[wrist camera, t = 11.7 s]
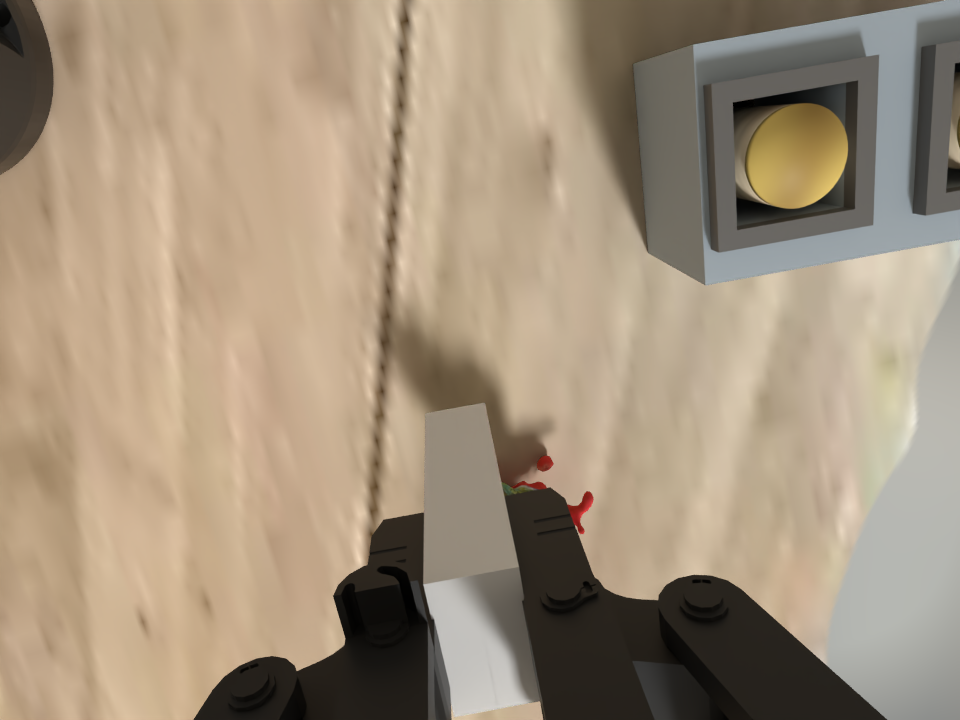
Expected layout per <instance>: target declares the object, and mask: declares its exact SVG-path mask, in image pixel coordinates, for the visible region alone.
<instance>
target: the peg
mask: <svg viewBox="0 0 960 720" xmlns="http://www.w3.org/2000/svg"><path fill="white" fill-rule="evenodd" d="M733 125H734V154H735V184H736V198H740V199H744V200H749V201H754V202H758V203H763V204H767V205H772V206H776V207H781V208H787V209H794V208H801V207H805V206H807V205H810V204H812V203H814V202H816V201H818V200H819V199H821V198H822V197H824V196H825V195H826V194H827V193H828V192H829V191H830V190H831V189H832V188H833V187H834V185H835V184H836V183H837V181H838V180H839V178H840V176H841V174H842V172H843V170H844V167H845V164H846V160H847V155H848V140H847V135H846V132H845V129H844V127H843V124H842V123H841V121H840V120H839V118H838V117H837V116H836V115H835V114H834V113H833V112H832V111H830V110H829V109H827V108H825V107H823V106H821V105H818V104H812V103H800V104H785V105H771V106H757V107H743V108H733Z"/></svg>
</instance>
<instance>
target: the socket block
mask: <svg viewBox="0 0 960 720" xmlns="http://www.w3.org/2000/svg"><path fill="white" fill-rule="evenodd" d="M633 70H634V83H635V95H636V108H637V120H638V133H639V145H640V158H641V170H642V183H643V195H644V208H645V221H646V233H647V246H648V253H649V254H651V255H652V256H654V257H656V258H658V259H660V260H661V261H663V262H665V263H667V264H668V265H670V266H672V267H674V268H676V269H677V270H679V271H681V272H683V273H684V274H686V275H688V276H690V277H692V278H693V279H695V280H697V281H699V282H700V283H702V284H704V285H710V284H716V283H721V282H727V281H733V280H738V279H744V278H749V277H755V276H760V275H766V274H771V273H777V272H783V271H788V270H794V269H799V268H805V267H810V266H816V265H822V264H827V263H833V262H838V261H844V260H849V259H855V258H860V257H866V256H872V255H877V254H883V253H888V252H894V251H899V250H905V249H911V248H916V247H922V246H927V245H933V244H938V243H944V242H949V241H955V240H960V169H952V168H948V156H949V142H950V128H951V113H952V99H953V85H954V73H957V72H960V0H945V1H939V2H934V3H928V4H922V5H917V6H911V7H905V8H899V9H894V10H888V11H882V12H876V13H871V14H865V15H859V16H853V17H848V18H842V19H836V20H831V21H825V22H819V23H813V24H808V25H802V26H796V27H790V28H785V29H779V30H773V31H767V32H762V33H756V34H750V35H745V36H739V37H733V38H727V39H722V40H716V41H710V42H704V43H699V44H693V45H690V46H687V47H684V48H681V49H677V50H674V51H671V52H668V53H665V54H662V55H659V56H656V57H653V58H649V59H646V60H643V61H640V62H637V63H634V64H633ZM749 99H754V107H757V106H771V105H785V104H800V103H812V104H818V105H821V106H823V107H825V108H827V109H829V110H830V111H832V112H833V113H834V114H835V115H836V116H837V117H838V118H839V120H840V121H841V123H842V124H843V127H844V129H845V132H846V135H847V140H848V155H847V160H846V164H845V167H844V170H843V172H842V174H841V176H840V178H839V180H838V181H837V183H836V184H835V185H834V187H833V188H832V189H831V190H830V191H829V192H828V193H827V194H826V195H825V196H824V197H822V198H821V199H819V200H818V201H816V202H814V203H812V204H810V205H807V206H805V207H801V208H794V209H787V208H781V207H776V206H772V205H767V204H763V203H758V202H754V201H749V200H744V199H740V198H736V184H735V154H734V125H733V102H738V101H744V100H749Z"/></svg>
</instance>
